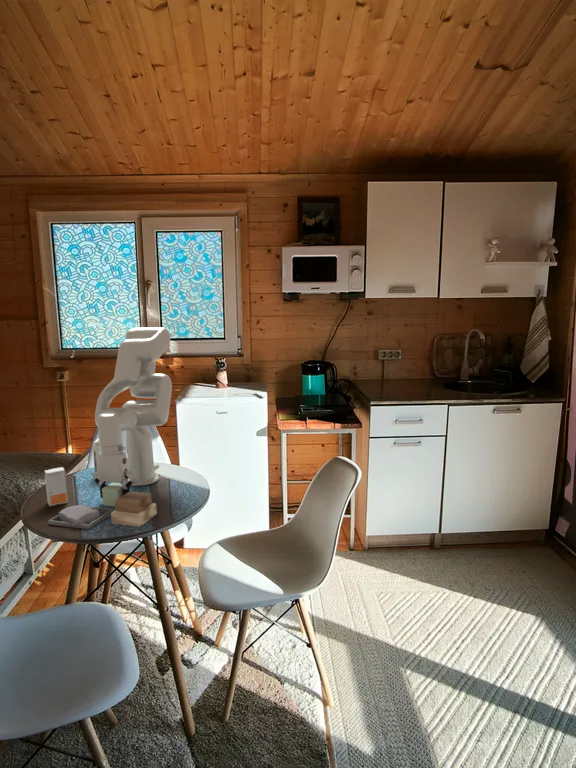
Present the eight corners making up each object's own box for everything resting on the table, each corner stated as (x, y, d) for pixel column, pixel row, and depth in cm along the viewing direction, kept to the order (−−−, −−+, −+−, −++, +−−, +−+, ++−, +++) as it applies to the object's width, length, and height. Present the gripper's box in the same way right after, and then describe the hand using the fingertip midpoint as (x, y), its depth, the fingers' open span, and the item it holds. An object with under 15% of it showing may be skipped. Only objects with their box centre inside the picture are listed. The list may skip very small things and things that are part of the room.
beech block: (130, 512, 169) (129, 500, 168) (157, 515, 166) (156, 503, 165) (111, 524, 160) (110, 512, 159) (139, 528, 157) (138, 516, 156)
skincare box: (49, 507, 174) (45, 473, 172) (47, 503, 177) (43, 470, 176) (68, 502, 177) (65, 469, 175) (66, 499, 181) (62, 466, 179)
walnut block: (130, 501, 168) (129, 491, 167) (151, 503, 165) (151, 493, 165) (115, 511, 160) (114, 500, 159) (137, 513, 158) (137, 503, 157)
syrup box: (100, 472, 208) (97, 438, 206) (114, 472, 208) (111, 437, 206) (95, 477, 203) (91, 442, 200) (109, 476, 202) (106, 441, 200)
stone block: (85, 517, 171) (55, 522, 164) (86, 503, 172) (56, 507, 164) (104, 525, 164) (74, 530, 156) (105, 510, 164) (75, 514, 156)
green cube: (113, 498, 180) (112, 482, 179) (128, 500, 178) (127, 483, 177) (103, 505, 174) (101, 488, 173) (118, 506, 173) (117, 490, 172)
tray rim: (75, 508, 172) (75, 505, 172) (113, 512, 168) (113, 509, 168) (48, 524, 160) (48, 520, 160) (88, 529, 156) (88, 525, 156)
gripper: (139, 447, 174) (143, 496, 177) (96, 444, 179) (100, 491, 182) (127, 453, 167) (131, 504, 170) (82, 450, 172) (87, 499, 175)
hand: (115, 497), depth 176 cm, fingers open, 8 cm apart
